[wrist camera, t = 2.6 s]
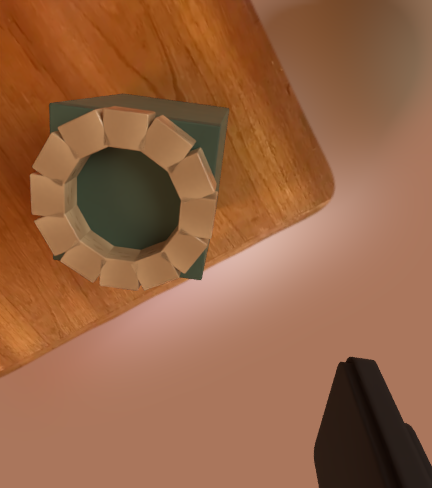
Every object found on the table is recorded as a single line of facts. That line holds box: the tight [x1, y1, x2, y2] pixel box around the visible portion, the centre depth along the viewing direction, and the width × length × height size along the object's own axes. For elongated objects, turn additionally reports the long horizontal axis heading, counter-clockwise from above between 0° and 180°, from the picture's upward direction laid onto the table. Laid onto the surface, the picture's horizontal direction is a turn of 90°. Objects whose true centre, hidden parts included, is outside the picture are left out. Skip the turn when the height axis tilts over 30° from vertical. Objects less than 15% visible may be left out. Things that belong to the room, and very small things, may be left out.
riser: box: [49, 94, 229, 280], centre depth 30 cm, size 9×9×14 cm
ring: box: [30, 106, 218, 291], centre depth 22 cm, size 10×10×2 cm
